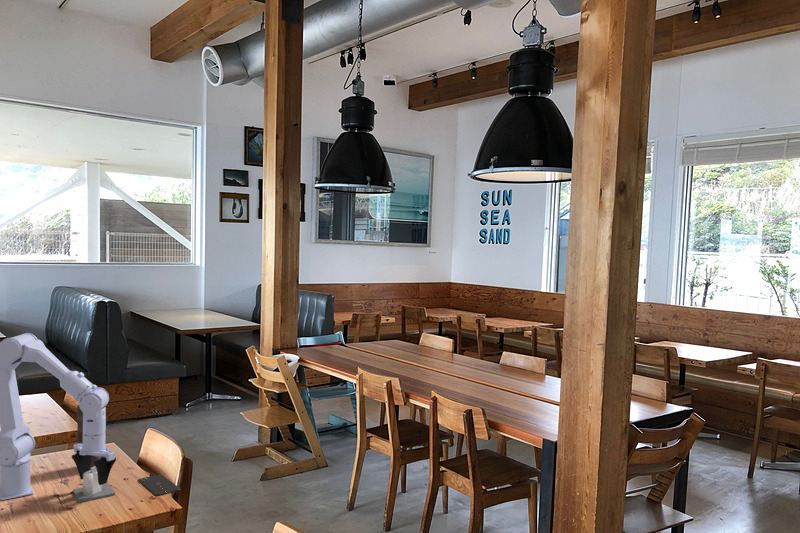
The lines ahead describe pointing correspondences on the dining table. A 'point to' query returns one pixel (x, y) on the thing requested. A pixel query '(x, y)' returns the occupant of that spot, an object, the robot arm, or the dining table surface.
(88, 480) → the charger plug
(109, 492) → the slate coaster
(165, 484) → the smartphone
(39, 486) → the dining table surface
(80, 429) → the candle
